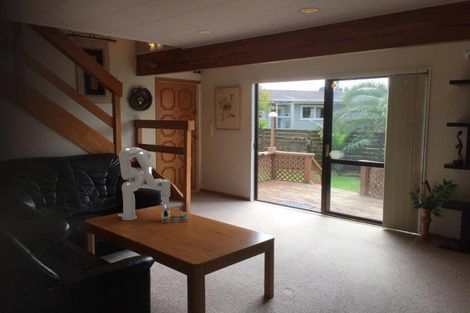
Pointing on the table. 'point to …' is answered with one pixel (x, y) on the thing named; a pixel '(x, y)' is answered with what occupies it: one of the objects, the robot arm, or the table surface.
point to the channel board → (175, 219)
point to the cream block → (165, 217)
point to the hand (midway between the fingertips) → (165, 215)
